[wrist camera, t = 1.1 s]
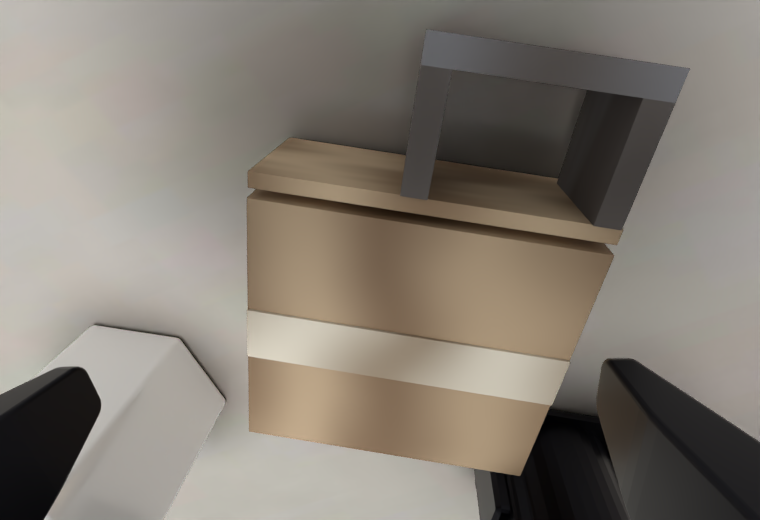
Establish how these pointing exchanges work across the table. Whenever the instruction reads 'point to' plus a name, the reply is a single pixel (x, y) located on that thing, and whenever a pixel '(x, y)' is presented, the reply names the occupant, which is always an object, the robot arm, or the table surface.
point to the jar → (136, 425)
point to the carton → (410, 329)
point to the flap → (493, 186)
